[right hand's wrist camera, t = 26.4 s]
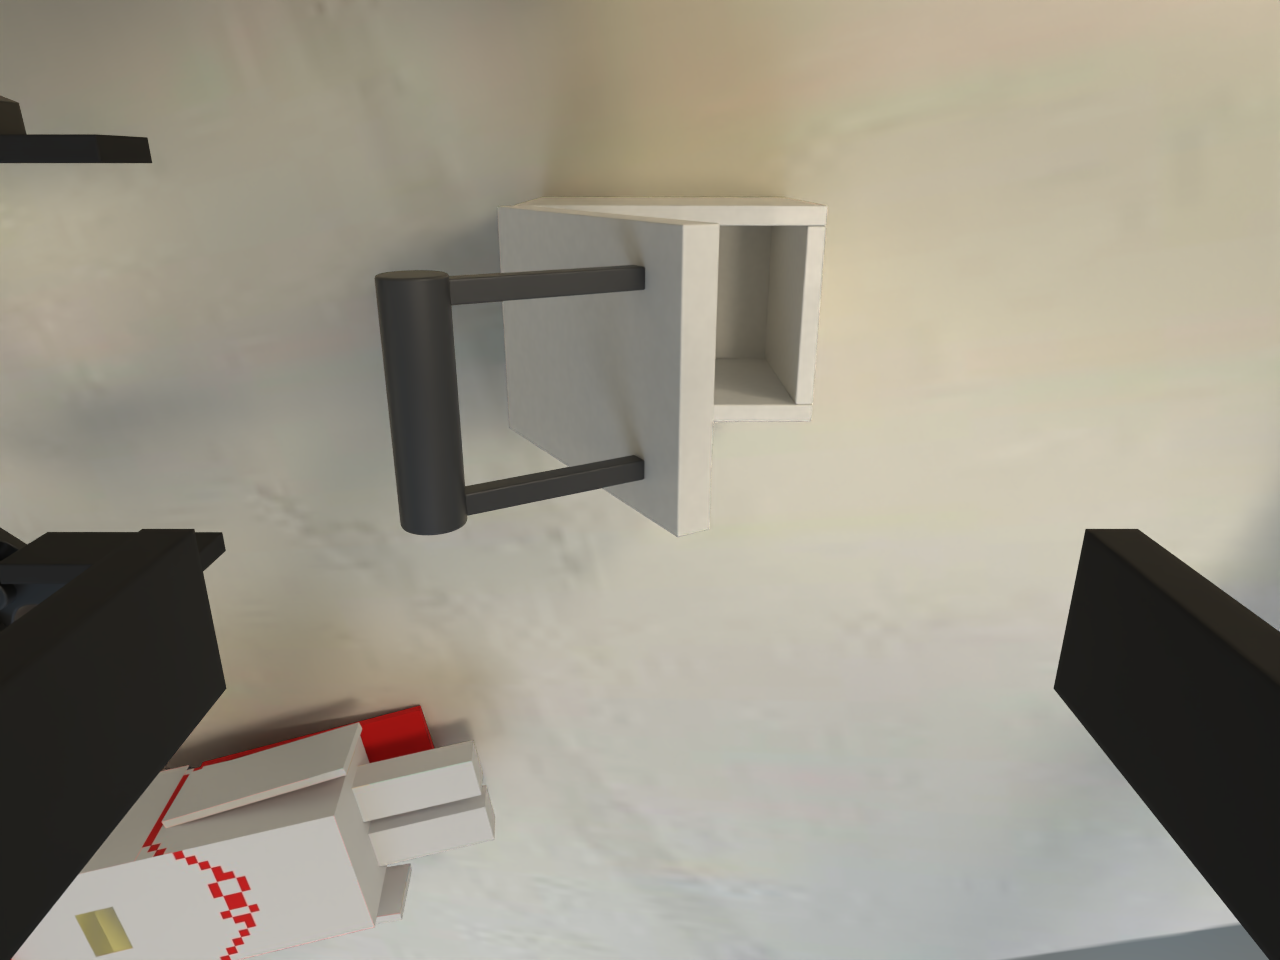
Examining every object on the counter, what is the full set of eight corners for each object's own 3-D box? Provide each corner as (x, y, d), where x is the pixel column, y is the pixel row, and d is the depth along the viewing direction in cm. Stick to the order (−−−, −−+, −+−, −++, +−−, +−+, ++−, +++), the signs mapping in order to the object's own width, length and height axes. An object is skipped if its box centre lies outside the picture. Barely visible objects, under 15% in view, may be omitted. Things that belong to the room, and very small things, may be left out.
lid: (720, 223, 24) (395, 235, 20) (710, 529, 27) (430, 599, 23) (525, 205, 35) (291, 210, 31) (534, 424, 39) (324, 457, 34)
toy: (502, 928, 51) (-5, 1051, 49) (505, 784, 64) (101, 877, 62) (454, 767, 47) (-100, 893, 45) (468, 647, 60) (34, 741, 58)
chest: (785, 197, 46) (828, 205, 36) (775, 369, 49) (811, 421, 39) (541, 196, 46) (513, 204, 36) (547, 369, 49) (523, 421, 39)
